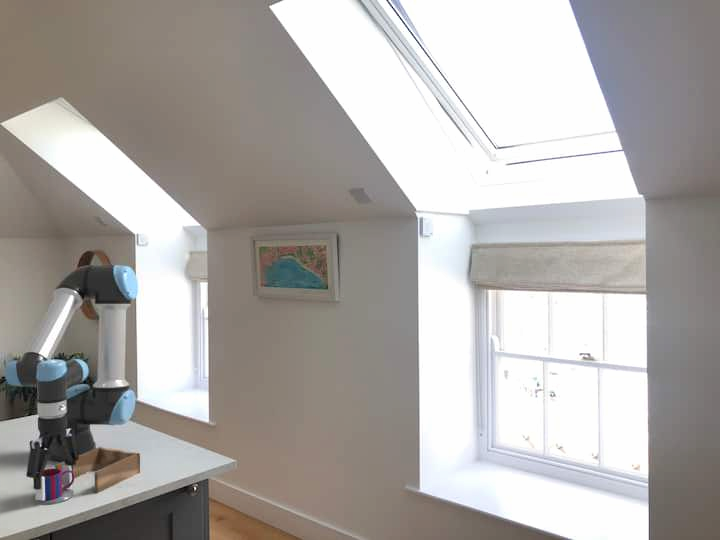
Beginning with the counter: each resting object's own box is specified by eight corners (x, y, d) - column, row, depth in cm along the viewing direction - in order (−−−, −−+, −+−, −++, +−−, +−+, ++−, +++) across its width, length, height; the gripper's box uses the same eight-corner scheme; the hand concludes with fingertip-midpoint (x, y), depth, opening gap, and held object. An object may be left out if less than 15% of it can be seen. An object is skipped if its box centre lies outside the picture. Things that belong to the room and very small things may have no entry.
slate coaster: (26, 501, 180) (26, 499, 180) (55, 488, 189) (55, 486, 189) (53, 506, 176) (53, 504, 176) (81, 493, 186) (81, 491, 185)
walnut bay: (55, 484, 192) (55, 465, 192) (99, 465, 208) (99, 447, 208) (98, 492, 186) (97, 472, 185) (140, 472, 202) (139, 453, 202)
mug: (35, 494, 183) (34, 471, 183) (73, 487, 188) (73, 464, 188) (37, 502, 177) (36, 478, 177) (76, 495, 182) (75, 472, 182)
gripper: (29, 427, 170) (31, 510, 171) (91, 407, 190) (93, 481, 191) (9, 423, 173) (11, 505, 174) (72, 404, 193) (73, 478, 194)
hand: (54, 493), depth 183 cm, fingers closed on mug, 9 cm apart
